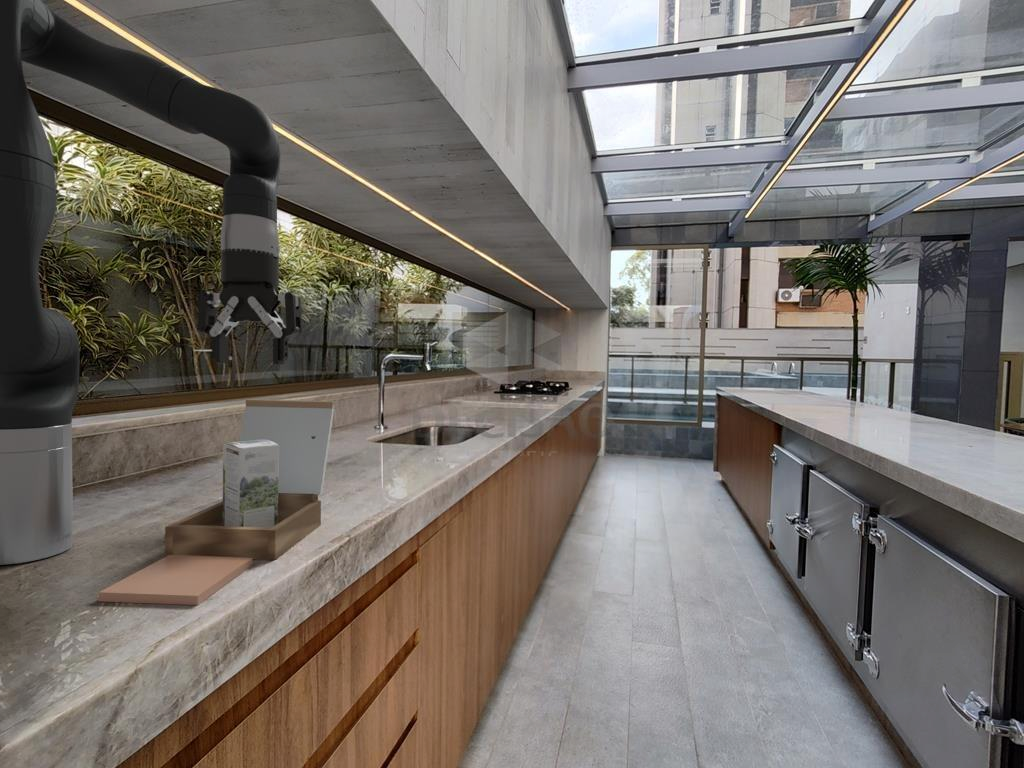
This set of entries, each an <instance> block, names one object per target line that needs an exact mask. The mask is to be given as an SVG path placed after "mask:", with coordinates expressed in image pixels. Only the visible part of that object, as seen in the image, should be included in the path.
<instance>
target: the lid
mask: <svg viewBox="0 0 1024 768" xmlns="http://www.w3.org/2000/svg"><path fill="white" fill-rule="evenodd" d="M244 408H245V409H244V412H243V413H244V414H243V418H242V423H241V429H240V432H239V437H238V442H242V441H252V440H269V441H272V442H274V443H276V444H278V445H279V478H278V493H288V494H315V495H318V496H320V495H323V491H324V489H323V488H324V481H325V476H326V475H325V474H326V470H327V464H328V457H329V456H328V455H329V454H328V453H329V448H330V441H331V434H332V433H331V432H332V426H333V420H334V412H335V409H336V401H331V400H330V401H326V400H325V401H321V400H320V401H319V400H280V399H279V400H277V399H245V407H244ZM311 436H315V438H314V439H312V437H311Z"/></svg>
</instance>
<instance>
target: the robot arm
mask: <svg viewBox="0 0 1024 768" xmlns="http://www.w3.org/2000/svg"><path fill="white" fill-rule="evenodd" d="M23 63H27V64H30V65H33V66H36V67H39V68H41V69H45V70H48V71H49V72H50V71H51V72H54V73H57V74H60V75H62V76H65V77H67V78H70V79H72V80H75V81H79V82H80V83H83V84H85V85H88V86H89V87H90V86H91V87H93V88H95V89H97V90H100V91H102V92H104V93H106V94H108V95H110V96H113V97H114V98H117V99H118V100H121V101H122V102H125V103H126V104H129V105H131V106H132V107H134V108H137V109H138V110H140V111H142V112H144V113H145V114H146V113H147V114H148V115H150V116H152V117H154V118H156V119H158V120H160V121H162V122H165V123H166V124H168V125H170V126H172V127H174V128H176V129H179V130H181V131H183V132H186V133H188V134H191V135H199V134H203V135H205V136H207V137H209V138H211V139H213V140H216V141H217V142H219V143H221V144H222V145H225V146H226V147H227V149H228V150H229V156H230V157H229V158H230V162H229V163H230V164H229V165H230V166H229V176H228V177H227V178H226V179H224V182H223V187H222V223H221V230H220V281H221V285H222V289H221V291H220V293H219V292H212V291H207V290H203V289H202V290H201V291H200V292H199V294H198V314H197V331H199V332H200V333H204V334H207V335H209V336H210V338H211V357H212V359H213V360H214V361H215V363H216V364H228V363H229V338H228V335H229V334H230V332H232V330H233V328H235V327H237V326H238V325H239V324H240V323H253V322H254V323H259V324H261V323H263V324H264V325H265V326H266V327H268V328H269V330H270V331H271V332H272V334H273V335H274V336H275V338H272V363H273V364H274V365H278V366H279V365H284V364H285V363H286V361H287V362H288V359H289V340H290V338H291V337H294V336H296V335H297V336H298V335H301V334H302V333H303V322H302V321H303V319H302V303H301V296H300V295H299V294H297V293H294V292H291V291H287V292H285V293H280V292H279V284H280V263H279V262H280V240H279V239H280V237H279V230H278V197H277V189H278V183H279V176H280V170H281V169H280V168H281V145H280V144H281V143H280V140H279V137H278V134H277V132H276V130H275V128H274V125H273V123H272V121H271V119H270V117H269V116H268V114H266V112H265V111H264V110H262V109H261V108H260V107H259V106H257V105H256V104H254V103H253V102H251V101H249V100H248V99H246V98H244V97H242V96H240V95H237V94H235V93H232V92H228V91H226V90H222V89H219V88H218V87H217V88H216V87H214V86H210V85H205V84H203V83H201V82H199V81H197V80H196V79H194V78H193V77H191V76H188V75H187V74H185V73H183V72H181V71H180V70H177V69H175V68H173V67H172V66H169V65H168V64H165V63H164V62H161V61H160V60H157V59H155V58H153V57H150V56H148V55H145V54H142V53H140V52H136V51H132V50H130V49H125V48H121V47H116V46H113V45H110V44H107V43H105V42H103V41H100V40H98V39H96V38H94V37H92V36H90V35H88V34H86V33H84V32H83V31H82V30H80V29H78V28H77V27H75V26H73V25H72V24H70V23H69V22H67V21H66V20H65V19H63V18H62V17H61V16H59V15H57V14H56V13H55V12H54V11H52V10H51V9H50V8H49V7H48V6H47V4H45V2H44V1H43V0H0V565H1V566H3V565H6V566H7V565H15V564H23V563H28V562H33V561H37V560H38V561H39V560H42V559H46V558H50V557H53V556H55V555H58V554H61V553H64V552H66V551H68V550H69V549H71V548H72V547H73V544H74V534H73V533H74V529H73V528H74V525H73V524H74V520H73V519H74V508H73V507H74V503H73V502H74V500H73V499H74V496H73V492H74V491H73V490H74V489H73V486H74V485H73V484H74V483H73V425H72V421H73V418H72V417H73V410H74V409H75V408H74V407H75V406H76V403H77V400H78V395H79V386H80V385H79V383H80V380H79V379H80V341H79V340H80V339H79V336H78V333H77V329H76V328H75V326H74V324H73V322H72V321H71V320H70V319H69V318H68V317H67V316H66V315H64V314H63V313H61V312H59V311H56V310H54V309H51V308H47V307H44V306H43V305H44V304H43V301H42V294H41V286H40V275H39V274H40V273H39V272H40V270H39V266H40V257H41V253H42V250H43V247H44V244H45V242H46V239H47V237H48V235H49V233H50V230H51V228H52V225H53V221H54V219H55V215H56V209H57V202H58V201H57V185H56V183H57V182H56V171H55V169H56V167H55V160H54V155H53V151H52V148H51V146H50V145H51V144H50V142H49V138H48V137H47V134H46V131H45V129H44V126H43V123H42V122H41V118H40V117H39V114H38V111H37V110H36V107H35V104H34V102H33V100H32V98H31V94H30V93H29V90H28V86H27V84H26V80H25V75H24V74H25V73H24V70H23ZM221 304H222V305H223V307H224V308H223V309H222V311H221V312H220V314H218V307H219V306H220V305H221ZM280 304H281V305H282V307H283V308H284V310H285V324H284V321H283V319H282V318H281V316H280V315H279V314H278V312H277V311H276V309H278V307H279V306H280ZM217 314H218V316H217Z"/></svg>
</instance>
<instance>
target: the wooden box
mask: <svg viewBox="0 0 1024 768" xmlns="http://www.w3.org/2000/svg"><path fill="white" fill-rule="evenodd" d="M311 437H312V439H314V438H315V436H311ZM222 514H223V500H222V501H220V502H217V503H215V504H213V505H211V506H209V507H207V508H204V509H202V510H200V511H198V512H195V513H193V514H191V515H189V516H186V517H184V518H182V519H179V520H177V521H175V522H172V523H171V524H168V525H167V526H165V527H164V532H165V533H164V537H165V539H164V543H165V544H164V545H165V546H164V548H165V549H164V555H165V556H164V557H166V556H168V555H187V556H217V557H247V558H253V560H263V561H264V560H267V561H268V560H269V561H270V560H271V561H276V560H277V559H278V558H280V557H281V556H283V555H284V554H285V553H287V551H289V550H290V549H292V548H293V547H295V546H296V545H297V544H298V543H299V542H301V541H302V540H303V539H304V538H306V537H307V536H309V535H310V534H311V533H313V531H315V530H316V529H318V528H319V527H320V526H321V524H322V522H321V521H322V520H321V519H322V501H321V500H319V495H315V494H288V493H278V524H277V525H275V526H274V527H272V528H265V527H234V526H222V517H223V516H222Z"/></svg>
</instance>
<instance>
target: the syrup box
mask: <svg viewBox="0 0 1024 768" xmlns="http://www.w3.org/2000/svg"><path fill="white" fill-rule="evenodd" d="M278 478H279V445H278V444H276V443H274V442H272V441H269V440H252V441H242V442H239V441H233V442H224V443H223V446H222V501H223V514H222V516H223V517H222V526H234V527H265V528H272V527H274V526H275V525H277V524H278Z"/></svg>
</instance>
